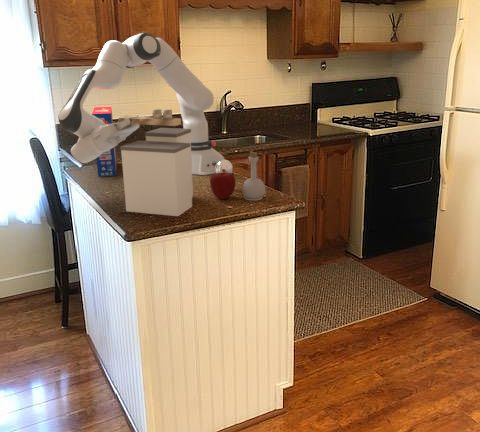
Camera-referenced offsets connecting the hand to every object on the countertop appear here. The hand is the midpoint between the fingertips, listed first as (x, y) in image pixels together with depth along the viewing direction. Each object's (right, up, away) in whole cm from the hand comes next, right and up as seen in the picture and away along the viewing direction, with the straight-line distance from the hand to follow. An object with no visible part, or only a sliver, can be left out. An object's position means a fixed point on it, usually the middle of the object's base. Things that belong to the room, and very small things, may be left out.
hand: (134, 119), depth 186 cm
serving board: (+6, -2, -2) cm, 6 cm away
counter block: (+11, -30, +6) cm, 33 cm away
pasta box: (-26, -12, +64) cm, 70 cm away
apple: (+31, -28, +13) cm, 44 cm away
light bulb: (+31, -24, +26) cm, 47 cm away
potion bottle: (+43, -28, +12) cm, 52 cm away
